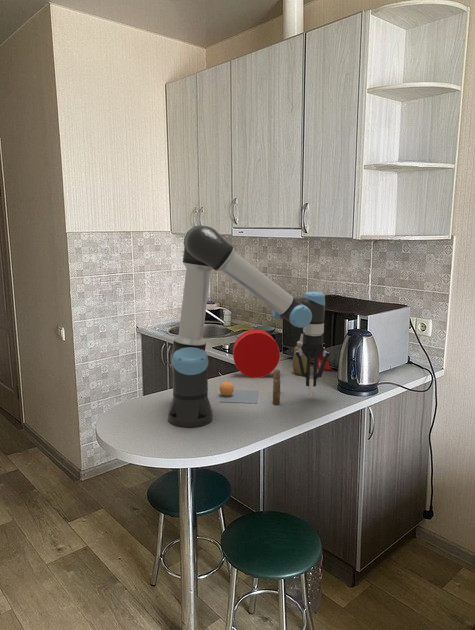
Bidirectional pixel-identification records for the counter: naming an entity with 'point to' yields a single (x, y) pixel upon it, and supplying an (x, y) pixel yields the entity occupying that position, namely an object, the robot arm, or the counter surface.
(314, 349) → the robot arm
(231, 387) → the ball
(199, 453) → the counter surface
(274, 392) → the near post
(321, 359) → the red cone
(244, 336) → the red thick disc
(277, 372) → the far post
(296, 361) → the squeeze bottle
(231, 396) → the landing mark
